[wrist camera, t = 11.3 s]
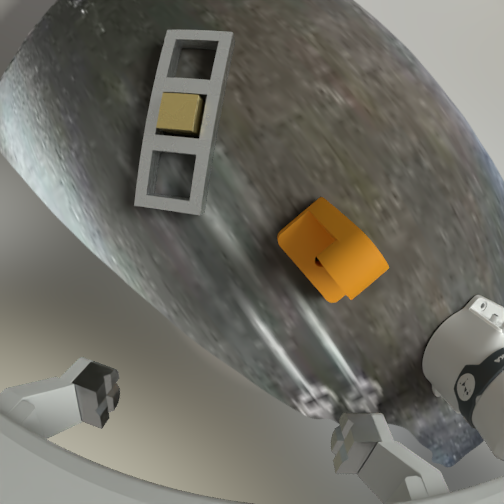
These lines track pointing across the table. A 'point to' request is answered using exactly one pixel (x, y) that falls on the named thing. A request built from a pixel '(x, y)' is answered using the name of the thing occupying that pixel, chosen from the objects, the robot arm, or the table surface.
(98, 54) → the table surface
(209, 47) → the grey rectangular frame
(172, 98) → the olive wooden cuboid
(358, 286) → the bracket
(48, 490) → the robot arm
